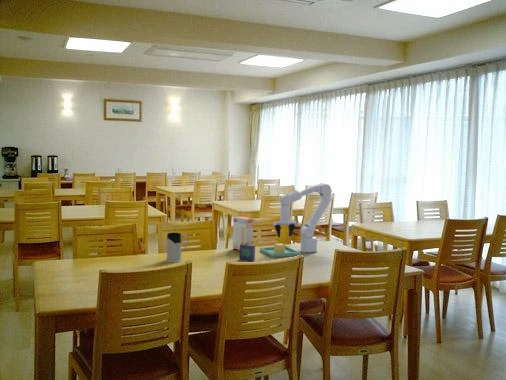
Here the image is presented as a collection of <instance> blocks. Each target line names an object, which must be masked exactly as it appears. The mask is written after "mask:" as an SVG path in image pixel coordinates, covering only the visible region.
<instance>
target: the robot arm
mask: <svg viewBox="0 0 506 380" xmlns="http://www.w3.org/2000/svg"><path fill="white" fill-rule="evenodd" d="M312 193H318V194H319V196H320V199H321V200H320V202H319V203H318V205H317V206H316V208H315V210H314V211H313V213H312V214H311V217H310V218H309V220H308V221H307V222H305V224H304V225H302V226H301V227H300V233H301V236H300V248H298V250H297V251H298V252H301V253H303V254H304V253H305V254H306V252H307V253H317V252H318V251H317V248H318V247H317V246H318V240H317V237H316V236H314V234H315V230H316V226H317V224H318V222H319V221H320V219H321V218H322V216H323V214H324V213H325V211H326V209H327V208H328V207H329V205H330V203H331V200H332V188H331V185H329V184H327V183H323V182H321V183H318V184H314V185H312V186H310V187H307V188H305V189H303V190H298V189H297V190H296V189H294V190H293V191H291V192H290V193H289V192H288V193H286V194H284V195H282V196H281V197H280V199H279V202H280V215H279V217H280V219H279V221H273V227H274V229H275V231H276V235H277V238H281V230H282V229H281V228H282V226H287V227H288V237H292V235H293V231H294V230H295V227H296V225H297V221H295V220H294V221H293V220H291V218H290V217H291V215H290V213H291V212H290V211H291V204H292V203H294V202H298V201H300V200H302V198H303V197H305V196H306V195H310V194H312ZM290 220H291V221H290Z"/></svg>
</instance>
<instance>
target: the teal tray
mask: <svg viewBox="0 0 506 380" xmlns="http://www.w3.org/2000/svg"><path fill="white" fill-rule="evenodd" d="M259 252H261V253H262V254H264V255H266V256H267V257H269V258H282V257H283V258H284V257H285V258H286V257H288V256H289V257H297V256H296V255H299V256H300V251H299V250H296V249H294V248H292V247H290V246H287V245H285V253H275V252H274V246H269V247H268V246H267V247H264V246H263V247H259Z"/></svg>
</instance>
